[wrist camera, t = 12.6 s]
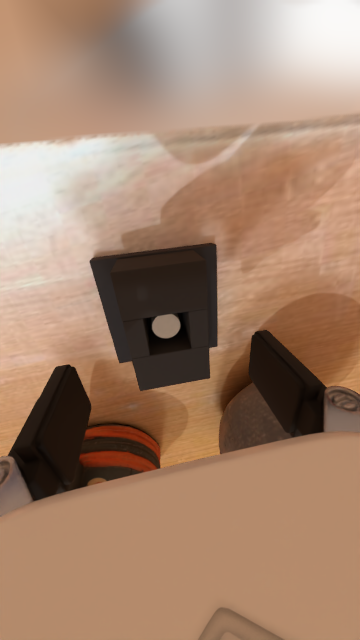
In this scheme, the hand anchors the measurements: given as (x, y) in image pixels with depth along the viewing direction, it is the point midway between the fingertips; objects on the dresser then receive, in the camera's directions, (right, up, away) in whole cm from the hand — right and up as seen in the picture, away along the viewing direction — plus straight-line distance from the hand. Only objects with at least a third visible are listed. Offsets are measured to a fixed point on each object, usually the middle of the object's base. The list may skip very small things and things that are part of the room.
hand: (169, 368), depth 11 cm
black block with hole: (-1, +3, +8) cm, 8 cm away
